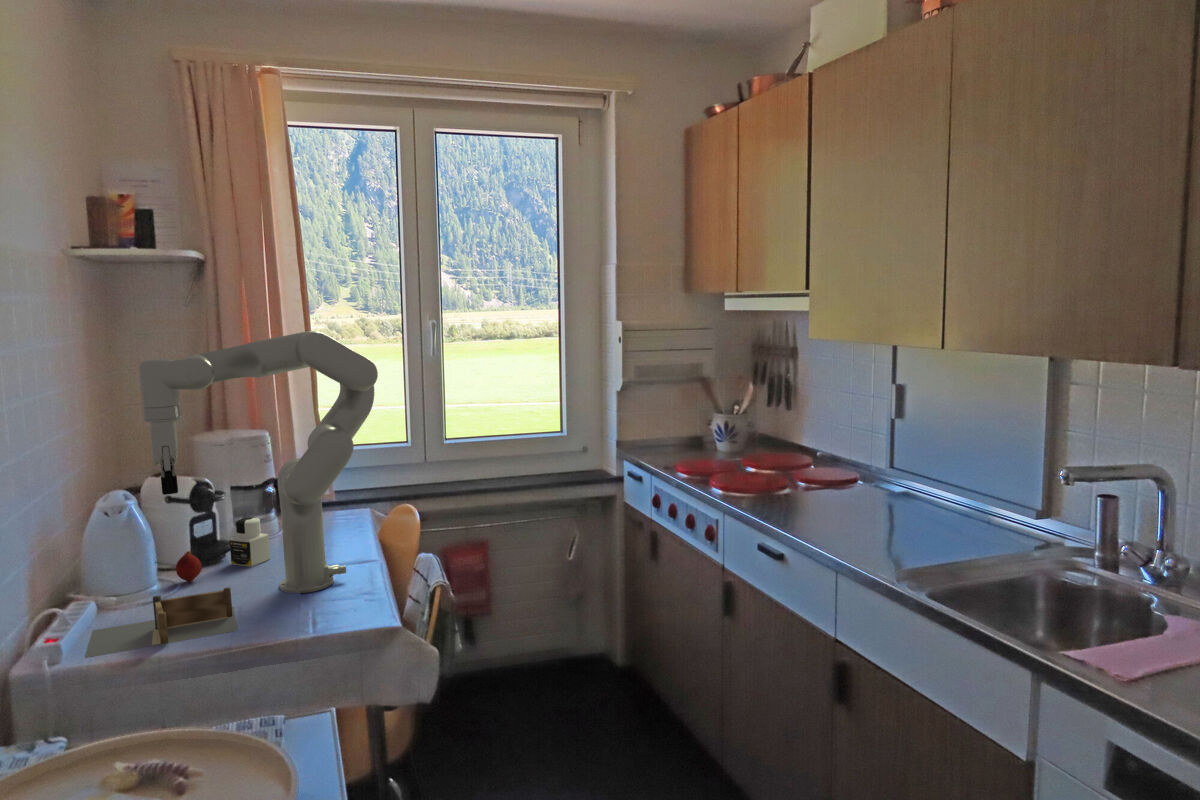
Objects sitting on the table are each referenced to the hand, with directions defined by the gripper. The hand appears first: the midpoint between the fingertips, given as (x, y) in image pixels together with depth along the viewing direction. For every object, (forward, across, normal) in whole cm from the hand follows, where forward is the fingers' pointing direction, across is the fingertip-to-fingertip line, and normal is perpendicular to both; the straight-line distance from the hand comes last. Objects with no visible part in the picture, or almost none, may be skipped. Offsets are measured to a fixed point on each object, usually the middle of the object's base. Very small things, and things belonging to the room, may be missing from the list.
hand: (170, 493), depth 193 cm
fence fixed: (+26, +14, +3) cm, 30 cm away
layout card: (+27, +16, -3) cm, 31 cm away
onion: (+27, -18, +2) cm, 33 cm away
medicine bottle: (+27, -28, +17) cm, 43 cm away
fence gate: (+26, +20, -4) cm, 33 cm away
